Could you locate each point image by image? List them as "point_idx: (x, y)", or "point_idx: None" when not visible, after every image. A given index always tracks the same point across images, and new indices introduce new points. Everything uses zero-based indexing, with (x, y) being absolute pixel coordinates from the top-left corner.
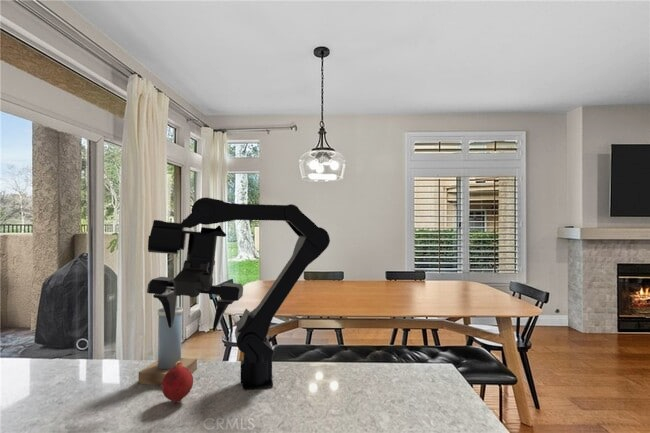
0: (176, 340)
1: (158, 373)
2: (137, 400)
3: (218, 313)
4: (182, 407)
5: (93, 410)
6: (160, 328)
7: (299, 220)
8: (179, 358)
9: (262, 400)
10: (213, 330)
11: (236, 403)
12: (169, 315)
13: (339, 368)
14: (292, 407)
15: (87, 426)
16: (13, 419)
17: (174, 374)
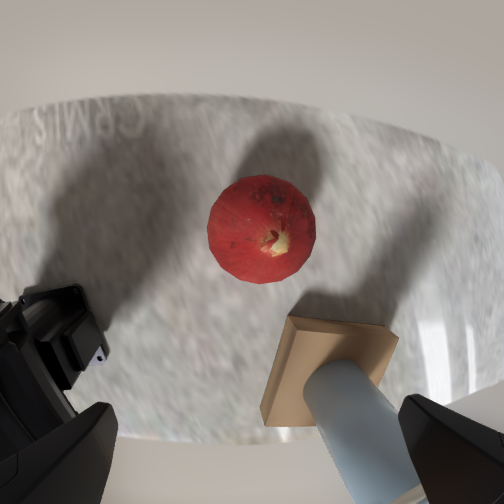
0: (343, 431)
1: (350, 335)
2: (361, 238)
3: (12, 476)
4: None
5: (426, 199)
6: None
7: None
8: (311, 399)
9: (27, 227)
10: (104, 404)
11: (80, 211)
12: (464, 433)
13: None
14: None
15: (408, 133)
16: (500, 188)
17: (271, 196)
